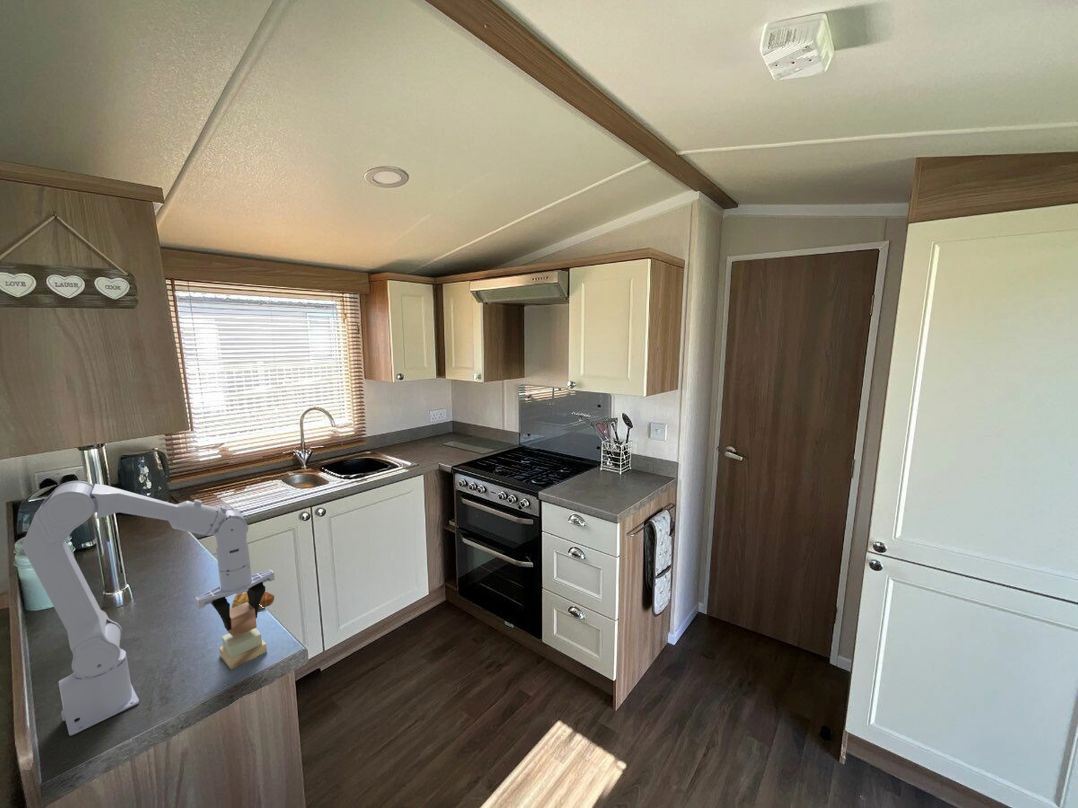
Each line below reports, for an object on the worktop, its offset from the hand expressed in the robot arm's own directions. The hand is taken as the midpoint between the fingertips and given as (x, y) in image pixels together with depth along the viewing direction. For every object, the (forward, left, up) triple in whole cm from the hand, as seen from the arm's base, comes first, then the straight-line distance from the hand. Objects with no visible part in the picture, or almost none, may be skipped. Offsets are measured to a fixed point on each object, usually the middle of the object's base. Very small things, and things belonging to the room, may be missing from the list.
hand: (241, 622), depth 100 cm
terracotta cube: (0, 0, -2) cm, 2 cm away
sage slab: (0, 0, -5) cm, 5 cm away
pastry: (+8, +20, -8) cm, 23 cm away
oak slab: (0, 0, -8) cm, 8 cm away
